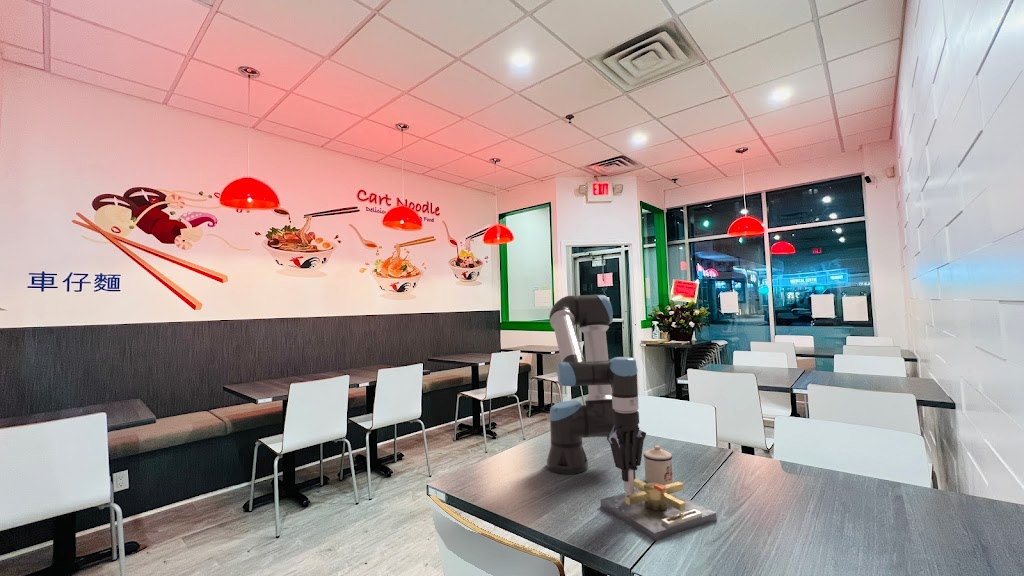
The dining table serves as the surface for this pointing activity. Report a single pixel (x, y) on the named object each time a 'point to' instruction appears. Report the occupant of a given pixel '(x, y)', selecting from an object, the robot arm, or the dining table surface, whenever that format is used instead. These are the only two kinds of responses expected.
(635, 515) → the stand
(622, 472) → the robot arm
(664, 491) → the capstan
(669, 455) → the teacup with lid
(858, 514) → the dining table surface
